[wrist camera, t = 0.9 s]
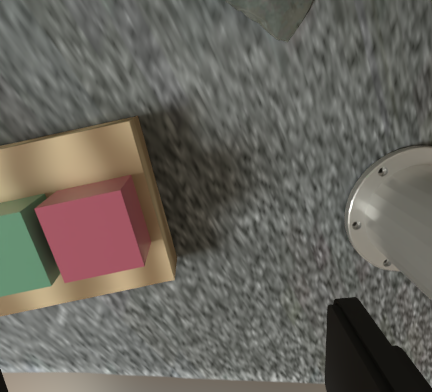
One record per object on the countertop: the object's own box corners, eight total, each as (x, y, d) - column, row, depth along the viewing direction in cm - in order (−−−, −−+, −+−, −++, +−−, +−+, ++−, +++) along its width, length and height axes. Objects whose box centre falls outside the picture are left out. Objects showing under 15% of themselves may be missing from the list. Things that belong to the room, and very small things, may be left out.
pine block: (137, 115, 29) (128, 121, 26) (177, 257, 34) (174, 279, 30) (-43, 155, 30) (-78, 166, 26) (20, 290, 34) (-2, 316, 30)
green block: (44, 193, 27) (19, 211, 23) (70, 259, 29) (51, 286, 25) (-29, 209, 27) (-66, 230, 23) (1, 273, 29) (-28, 302, 25)
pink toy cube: (131, 174, 27) (120, 190, 23) (151, 242, 29) (144, 266, 25) (56, 190, 27) (34, 208, 23) (82, 256, 29) (64, 283, 25)
